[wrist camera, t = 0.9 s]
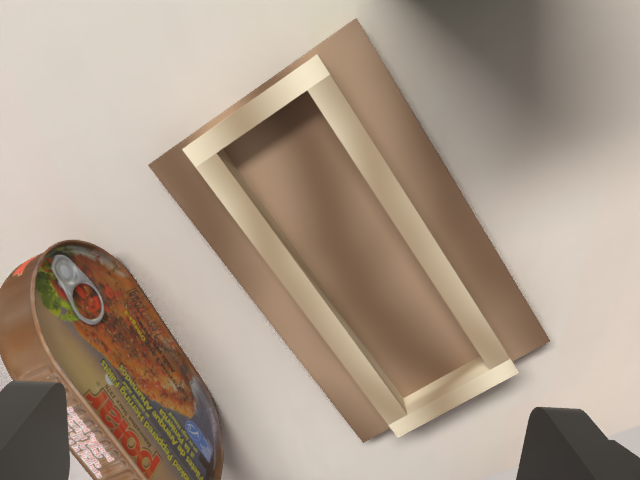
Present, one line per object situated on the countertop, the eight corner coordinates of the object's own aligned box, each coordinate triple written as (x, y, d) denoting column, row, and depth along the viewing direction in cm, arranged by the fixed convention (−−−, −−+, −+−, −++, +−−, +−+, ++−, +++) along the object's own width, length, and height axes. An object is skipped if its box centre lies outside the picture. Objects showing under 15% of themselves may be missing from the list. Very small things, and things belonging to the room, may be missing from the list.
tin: (236, 429, 34) (210, 547, 26) (191, 448, 34) (152, 570, 26) (94, 215, 29) (10, 278, 21) (45, 241, 30) (-55, 311, 22)
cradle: (354, 19, 26) (358, 16, 24) (542, 330, 31) (561, 355, 29) (154, 160, 28) (138, 171, 26) (361, 429, 34) (365, 460, 31)
